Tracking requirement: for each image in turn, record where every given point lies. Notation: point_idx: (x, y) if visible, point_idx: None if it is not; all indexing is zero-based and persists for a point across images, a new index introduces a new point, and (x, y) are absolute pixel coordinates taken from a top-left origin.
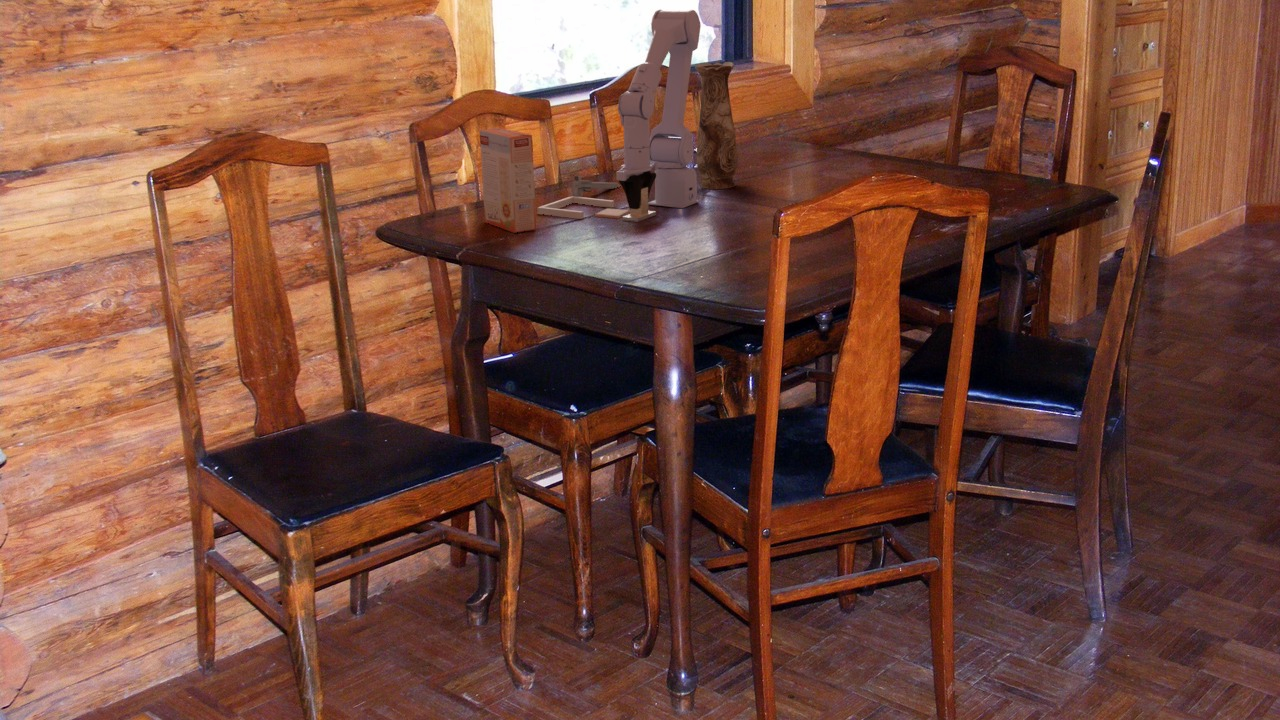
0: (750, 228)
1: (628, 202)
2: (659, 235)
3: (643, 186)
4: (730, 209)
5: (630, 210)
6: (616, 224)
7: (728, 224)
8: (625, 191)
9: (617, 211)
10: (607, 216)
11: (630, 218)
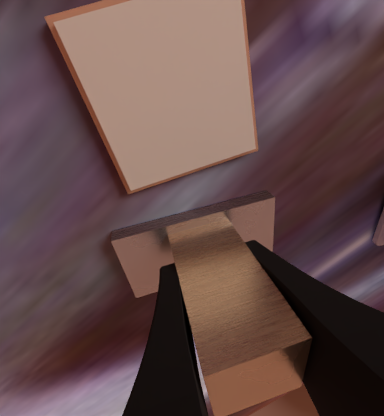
0: (242, 411)
1: (159, 292)
2: (64, 409)
3: (310, 366)
4: (381, 308)
5: (172, 250)
6: (36, 266)
7: None
8: (141, 376)
9: (200, 116)
10: (97, 127)
11: (125, 271)
